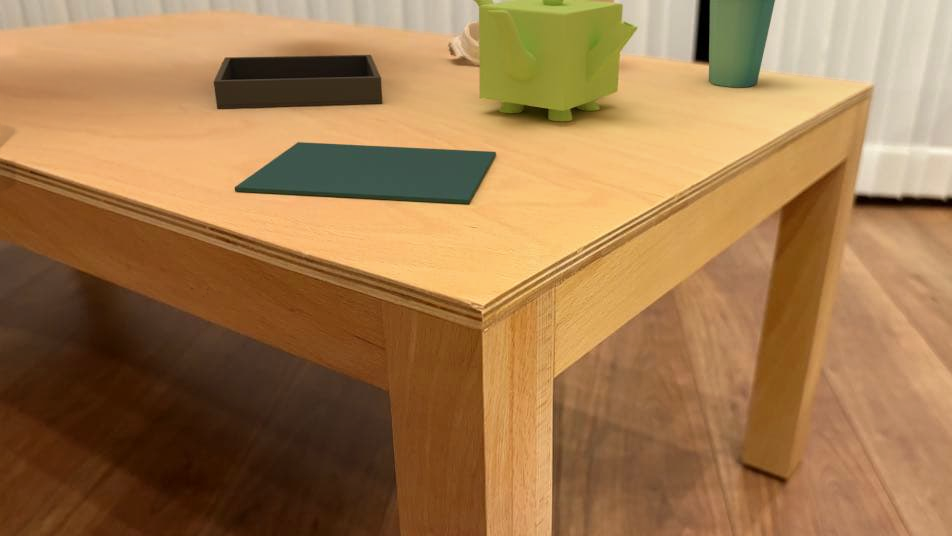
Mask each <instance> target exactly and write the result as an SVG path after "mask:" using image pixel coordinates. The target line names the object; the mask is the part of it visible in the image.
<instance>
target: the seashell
mask: <svg viewBox="0 0 952 536" xmlns="http://www.w3.org/2000/svg"><path fill="white" fill-rule="evenodd" d="M447 47H448V52H449V54H450V56H452V57H456V58H457V59H458V60H460V59H467V60H468V61H469V62H471V63H473V64H476V65H479V21H471V22H468V23H467V24H465V26H464V27H463V31H462V32H461V35H458V36H454V37H453V38H452V39H451V40H450V42H448V45H447Z"/></svg>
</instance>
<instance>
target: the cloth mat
mask: <svg viewBox="0 0 952 536" xmlns="http://www.w3.org/2000/svg"><path fill="white" fill-rule="evenodd" d="M496 157H497V151H488V150H487V151H486V150H466V149H465V150H464V149H446V148H425V147H407V146H405V147H404V146H387V145H386V146H383V145H366V144H365V145H364V144H362V145H361V144H347V143H345V144H344V143H326V142H325V143H323V142H303V141H302V142H301V141H297V142H296V143H294V144H293V145H292V146H290V147H289V148H288V149H286V150H285V151H283V152H282V153H280V154H279V155H278V156H276V157H275V158H273V159H272V160H271V161H269V162H268V163H267V164H265V165H264V166H262V167H260V169H258V170H257V171H255V172H253V174H251V175H250V176H248V177H247V178H245V179H244V180H243V181H241V182H240V183H238V184H237V185H235V186H234V191H235V192H243V193H259V194H277V195H278V194H279V195H294V196H295V195H296V196H297V195H298V196H315V197H334V198H336V197H337V198H350V199H351V198H353V199H372V200H389V201H409V202H424V203H425V202H427V203H428V202H429V203H445V204H462V205H464V204H465V205H469V204H470V203H471V201H472V199H473V198H474V195H475V193H476V192H477V190H478V188H479V187H480V185H481V183H482V181H483V179H484V178H485V176H486V174H487V172H488V170H489V169H490V167H491V166H492V163H493V162H494V159H495V158H496Z"/></svg>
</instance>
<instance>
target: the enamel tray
mask: <svg viewBox="0 0 952 536" xmlns="http://www.w3.org/2000/svg"><path fill="white" fill-rule="evenodd" d="M382 87H383V86H382V77H381V75H380V72H379V70H378V68H377V65H376V63H375V61H374V58H373V56H372V54H337V55H335V54H333V55H285V56H284V55H283V56H282V55H281V56H279V55H278V56H277V55H276V56H232V57H224V59H223V60H222V62H221V65H220V67H219V70H218V71H217V74H216V75H215V78H214V80H213V88H214V96H215V103H216V108H217V109H219V110H220V109H246V108H247V109H248V108H249V109H250V108H251V109H253V108H279V107H280V108H281V107H312V106H316V107H317V106H343V105H344V106H345V105H375V104H378V105H379V104H380V105H381V104H383V92H382V91H383V90H382V89H383V88H382Z"/></svg>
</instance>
